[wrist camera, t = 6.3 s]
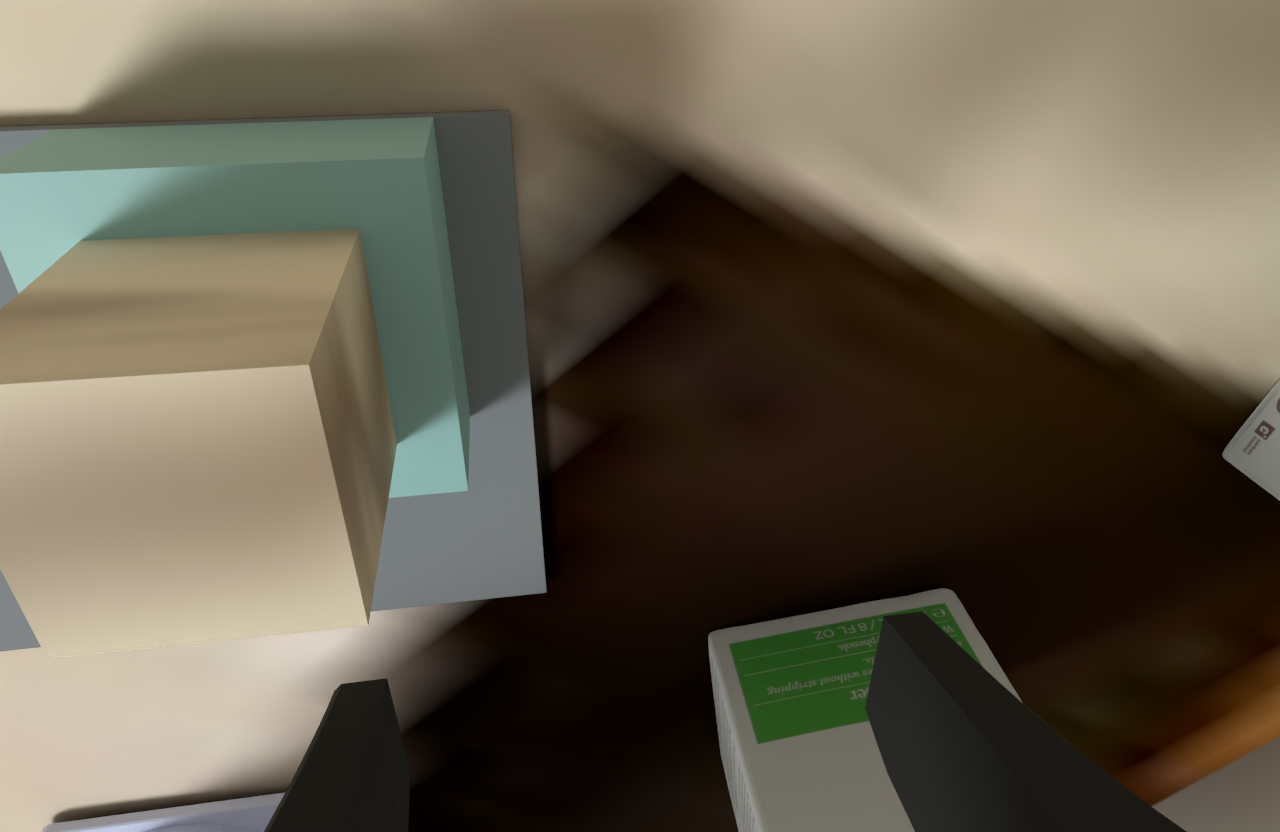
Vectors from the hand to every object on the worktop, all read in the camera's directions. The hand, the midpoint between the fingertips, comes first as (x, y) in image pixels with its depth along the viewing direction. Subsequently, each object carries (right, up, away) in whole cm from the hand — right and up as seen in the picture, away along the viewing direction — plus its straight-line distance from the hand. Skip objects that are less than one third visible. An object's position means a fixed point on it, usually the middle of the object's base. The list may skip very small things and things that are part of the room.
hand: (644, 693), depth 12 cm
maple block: (-7, +5, +3) cm, 9 cm away
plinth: (-8, +7, +6) cm, 12 cm away
